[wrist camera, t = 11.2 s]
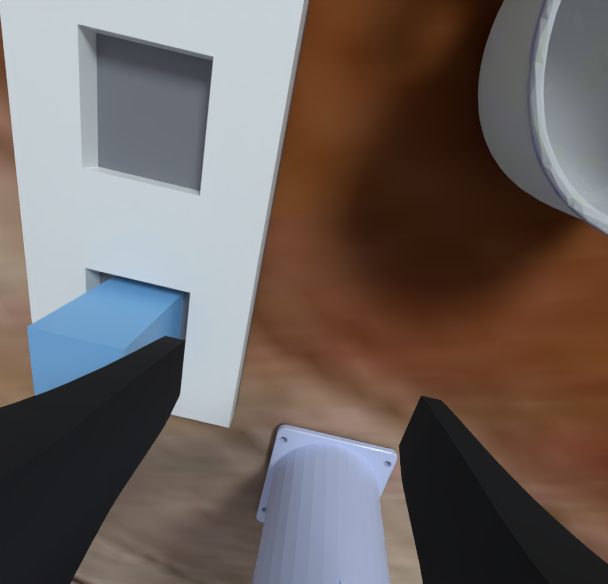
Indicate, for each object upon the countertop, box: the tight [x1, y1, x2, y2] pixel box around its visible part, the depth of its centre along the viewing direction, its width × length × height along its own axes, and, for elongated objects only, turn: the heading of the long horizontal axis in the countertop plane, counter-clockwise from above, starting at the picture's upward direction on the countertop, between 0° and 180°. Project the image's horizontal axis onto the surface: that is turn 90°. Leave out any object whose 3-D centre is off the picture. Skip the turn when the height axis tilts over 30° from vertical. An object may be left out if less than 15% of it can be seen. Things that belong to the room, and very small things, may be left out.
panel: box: [0, 0, 309, 428], centre depth 18 cm, size 22×12×2 cm, turn 168°
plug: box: [27, 276, 184, 396], centre depth 18 cm, size 4×4×6 cm
